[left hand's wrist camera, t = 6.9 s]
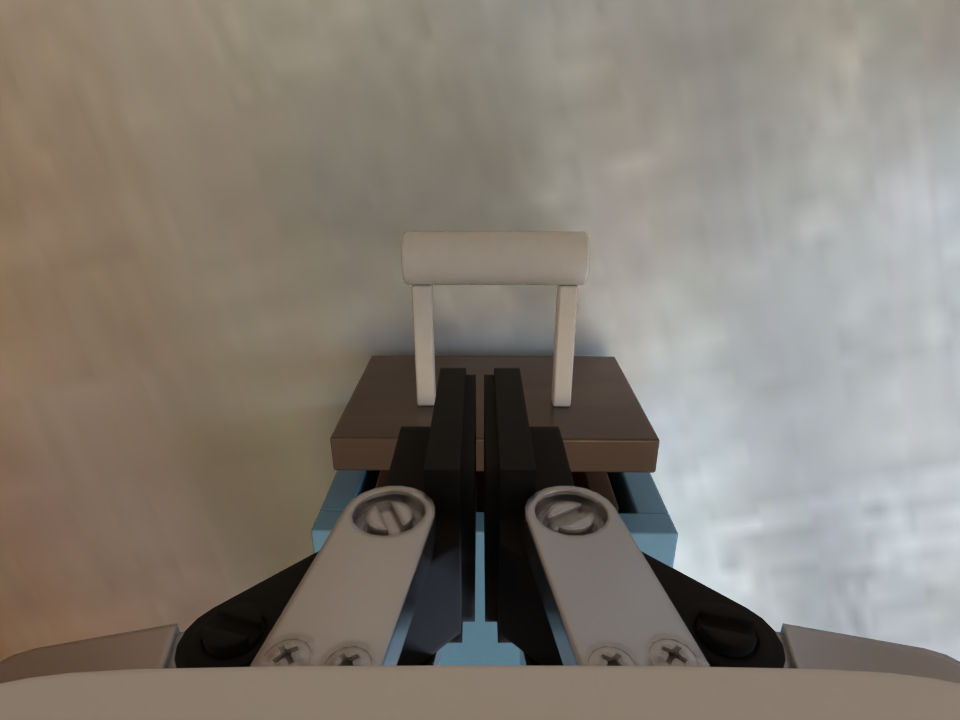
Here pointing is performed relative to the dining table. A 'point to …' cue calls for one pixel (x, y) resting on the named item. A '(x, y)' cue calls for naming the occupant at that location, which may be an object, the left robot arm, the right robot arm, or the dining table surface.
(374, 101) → the dining table surface
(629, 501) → the blue drawer cabinet
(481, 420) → the drawer
